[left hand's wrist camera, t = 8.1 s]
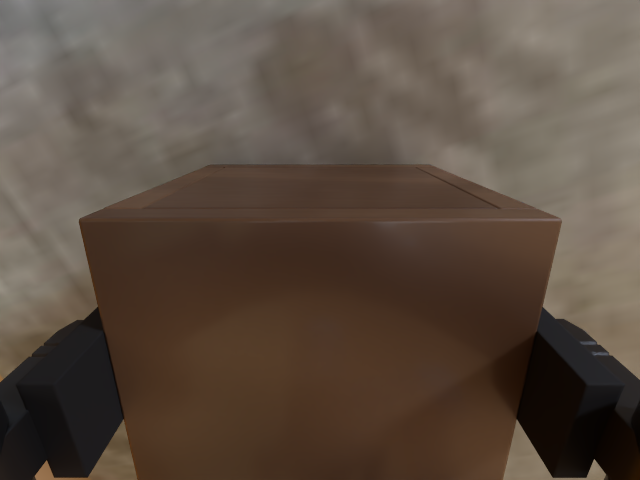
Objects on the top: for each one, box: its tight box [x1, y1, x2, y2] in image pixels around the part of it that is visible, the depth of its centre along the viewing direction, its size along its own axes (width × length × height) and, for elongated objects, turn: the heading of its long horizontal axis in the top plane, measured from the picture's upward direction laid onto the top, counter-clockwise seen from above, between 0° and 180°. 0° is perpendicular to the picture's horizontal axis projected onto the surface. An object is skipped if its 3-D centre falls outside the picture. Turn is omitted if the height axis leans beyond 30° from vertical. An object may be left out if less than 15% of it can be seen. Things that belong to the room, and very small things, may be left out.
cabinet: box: [79, 165, 562, 480], centre depth 15 cm, size 17×10×10 cm, turn 0°
